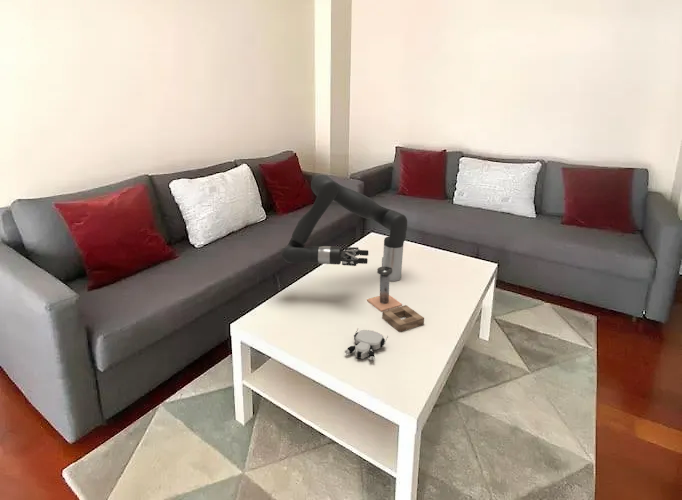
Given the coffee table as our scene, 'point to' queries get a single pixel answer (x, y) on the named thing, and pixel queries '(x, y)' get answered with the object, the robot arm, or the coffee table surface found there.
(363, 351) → the robot toy
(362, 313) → the coffee table surface
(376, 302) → the pad
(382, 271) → the peg
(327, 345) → the coffee table surface
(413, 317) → the collar
